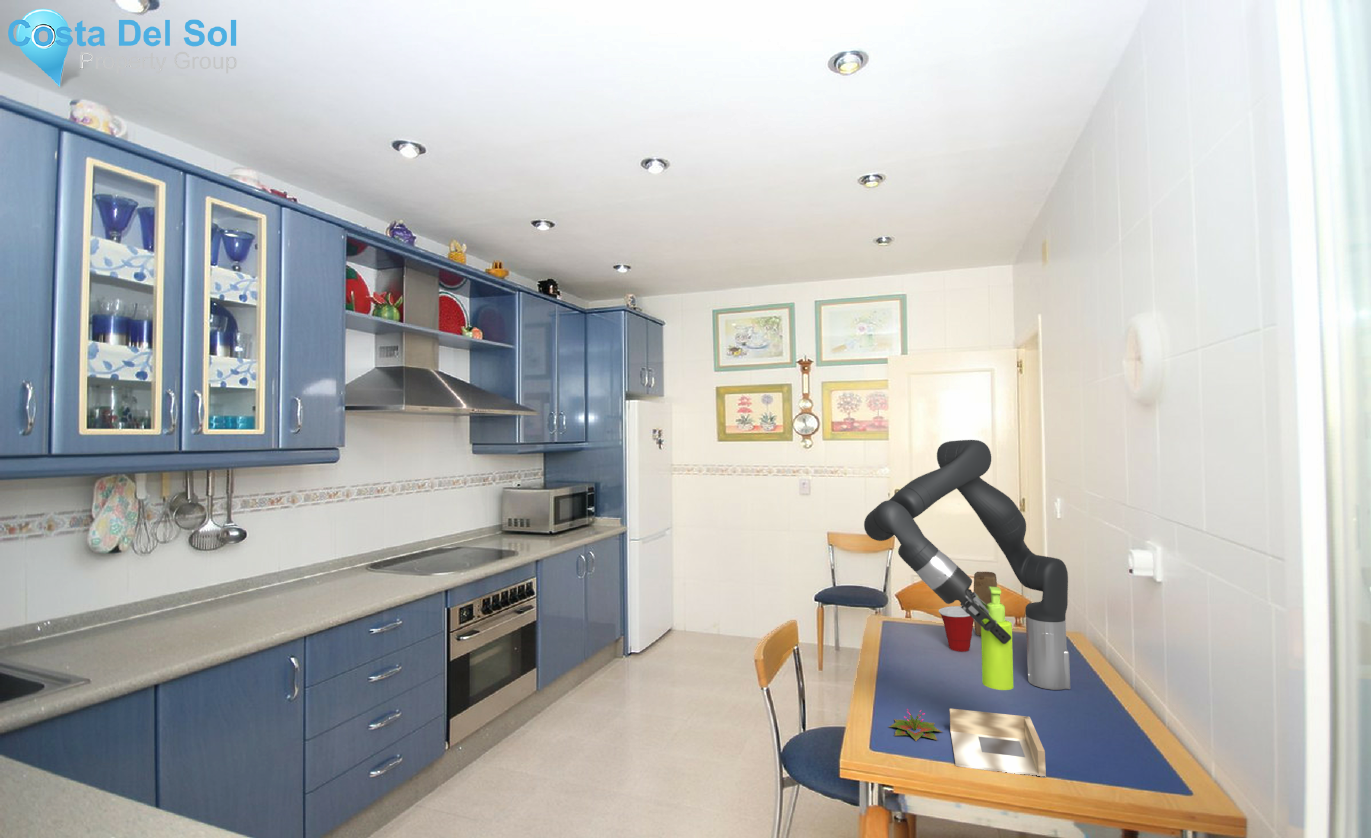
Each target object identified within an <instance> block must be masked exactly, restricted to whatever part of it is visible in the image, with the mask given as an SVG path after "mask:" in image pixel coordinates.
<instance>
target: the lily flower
mask: <svg viewBox="0 0 1371 838" xmlns="http://www.w3.org/2000/svg"><path fill="white" fill-rule="evenodd" d="M906 710H907V711H906V713H907V714H909V715H907V716H906V715H904V716H903V718H904V719H896V718H894V719H893V720H894V723H892V724H891V725H890V726H888V728H897V729H896V730H895V732H894V737H895V736H911V738H913V739H914V741H915V742H917V740H919V739H920V738H928V739H931V740H935V741H938V738H937V736H936V734H935V733H934V732H939V733H943V731H941V730H940V729H938V728H937V727H936V726H935V724H936V723H935V722H928V721H924V719H923V718H922V717H921V716H924V715H925V714H926V713H925V712H922V713H921V711H922V710H919V712H918V713H917V715H916V718H914V716H913V715H912V713H911V712H910V711H909V709H908V708H906ZM920 713H921V714H920ZM907 717H908V718H907ZM921 718H922V719H921ZM908 729H909V730H908ZM919 729H921V730H919ZM912 730H913V731H912ZM917 730H919V731H917ZM914 731H916V732H917V733H916V732H915V733H914ZM906 732H907V733H906ZM924 732H925V733H924Z"/></svg>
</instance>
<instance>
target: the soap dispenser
mask: <svg viewBox="0 0 1371 838" xmlns="http://www.w3.org/2000/svg"><path fill="white" fill-rule="evenodd" d="M989 589H990V591H991V602H990V603H989V604H987V609H988V610H989V611H990V616H991V617H992V618H993V619H994V620H996V621H997V623H998V624H999V625H1000V626H1001V627H1002V628H1003V629H1004V630H1005V631H1006V632H1007V633H1008V634H1009V635H1010V636H1011V639H1010V640H1009V641H1008V642H1007V643H1006V644H1003V643H1002V642H1001V641H999V640H998V639H997V638H996V637H995V636H994V635H993V634H992V633H991V632H990V631H986V630H984V628H983V627H982V626H981V636H980V637H981V639H980V640H981V641H980V643H981V645H980V646H981V679H982V680H981V681H982V685H983V686H984V687H987V688H990V689H992V690H997V691H998V690H999V691H1009V690H1013V689H1014V660H1013V659H1014V654H1013V623H1012V622H1011V621H1010V620H1006V607H1005V605H1004V604H1003V603H1001V595H1002V590H1001V588H1000V587H999V586H997V587H989ZM989 621H990V620H988V619H987V618H986V619H984V620H983V622H984V623H985V624H986V623H987V622H989Z"/></svg>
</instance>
